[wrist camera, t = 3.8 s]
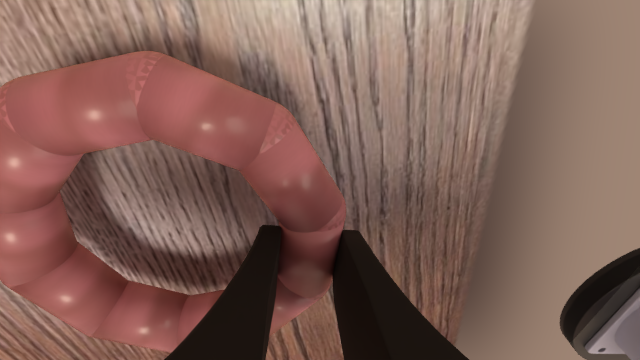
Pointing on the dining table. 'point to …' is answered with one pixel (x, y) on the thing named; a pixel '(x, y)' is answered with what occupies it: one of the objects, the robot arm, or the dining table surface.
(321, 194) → the ring
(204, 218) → the dining table surface
